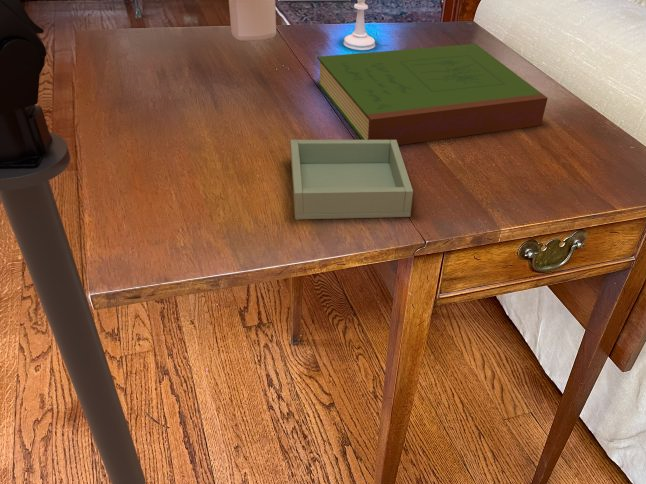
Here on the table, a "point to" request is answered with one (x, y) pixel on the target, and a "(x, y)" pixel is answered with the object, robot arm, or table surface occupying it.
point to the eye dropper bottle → (252, 19)
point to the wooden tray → (349, 179)
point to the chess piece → (359, 31)
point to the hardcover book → (428, 93)
